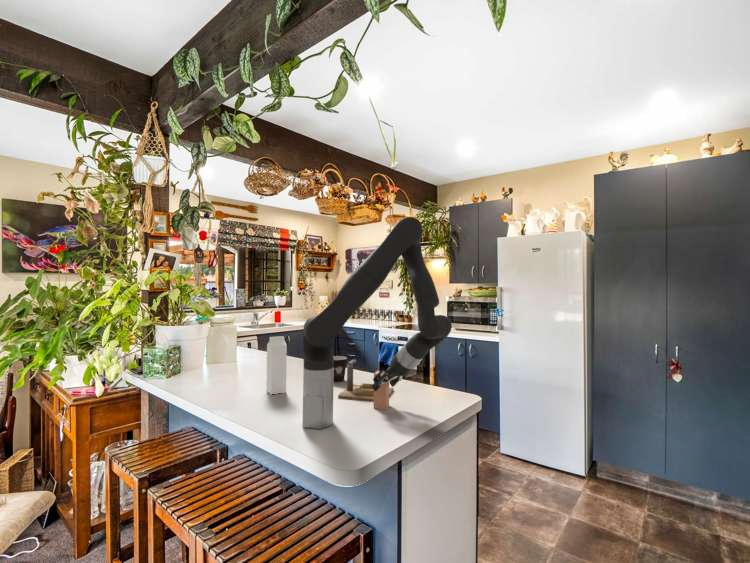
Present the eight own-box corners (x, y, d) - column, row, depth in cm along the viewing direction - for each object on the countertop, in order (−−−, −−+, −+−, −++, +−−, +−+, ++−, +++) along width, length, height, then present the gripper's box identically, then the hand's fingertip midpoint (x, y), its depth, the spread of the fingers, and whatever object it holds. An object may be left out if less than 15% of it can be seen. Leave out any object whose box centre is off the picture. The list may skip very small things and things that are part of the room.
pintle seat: (384, 402, 136) (384, 369, 137) (338, 397, 141) (338, 366, 141) (393, 390, 152) (393, 360, 152) (351, 386, 156) (351, 358, 157)
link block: (386, 409, 129) (386, 374, 129) (373, 408, 130) (373, 373, 130) (388, 405, 133) (389, 371, 133) (376, 404, 134) (377, 370, 134)
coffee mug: (348, 378, 171) (348, 356, 171) (344, 383, 162) (345, 360, 162) (323, 377, 172) (323, 355, 172) (318, 382, 163) (318, 359, 163)
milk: (266, 391, 148) (266, 336, 149) (280, 389, 152) (281, 335, 152) (271, 395, 143) (271, 337, 144) (286, 392, 147) (286, 336, 147)
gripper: (415, 347, 130) (391, 374, 138) (386, 352, 120) (362, 381, 128) (427, 365, 126) (401, 392, 134) (397, 371, 116) (372, 400, 125)
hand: (382, 386), depth 131 cm, fingers open, 8 cm apart
